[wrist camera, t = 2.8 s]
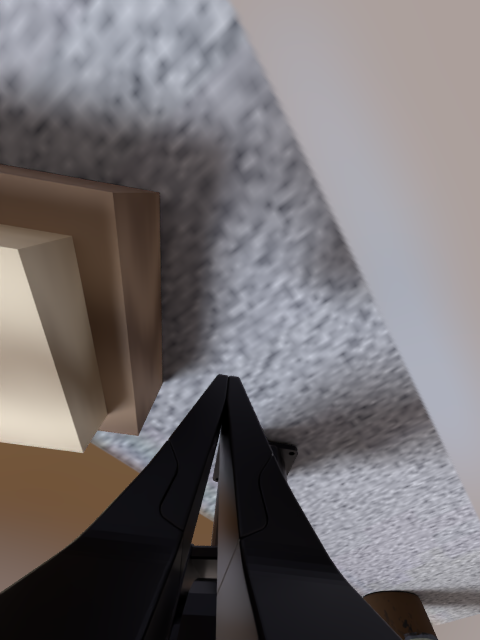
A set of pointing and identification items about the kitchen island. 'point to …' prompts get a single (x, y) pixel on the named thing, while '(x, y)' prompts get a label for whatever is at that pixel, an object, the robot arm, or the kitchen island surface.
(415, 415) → the kitchen island surface
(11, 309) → the cream rectangular block
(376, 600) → the olive oil
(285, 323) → the kitchen island surface
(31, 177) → the panel
